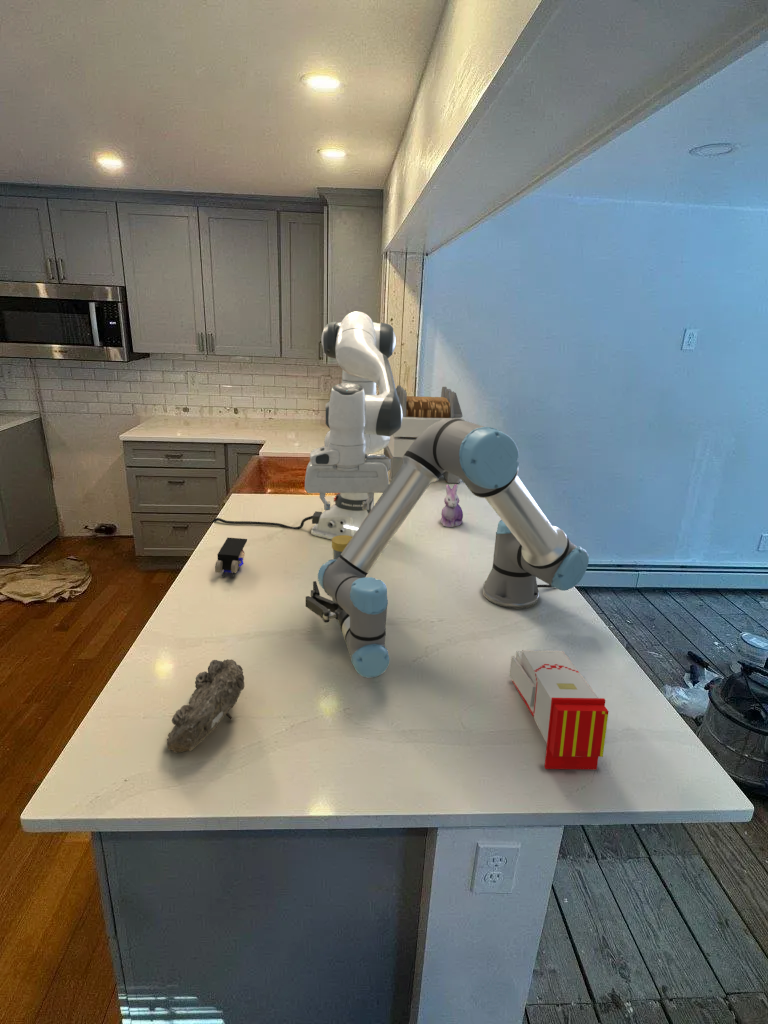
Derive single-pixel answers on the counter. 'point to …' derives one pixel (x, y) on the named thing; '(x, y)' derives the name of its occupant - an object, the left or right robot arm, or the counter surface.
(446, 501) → the figurine
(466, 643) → the counter surface
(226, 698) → the fossil
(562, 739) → the toy
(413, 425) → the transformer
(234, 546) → the figurine character
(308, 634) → the counter surface
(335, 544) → the lid
